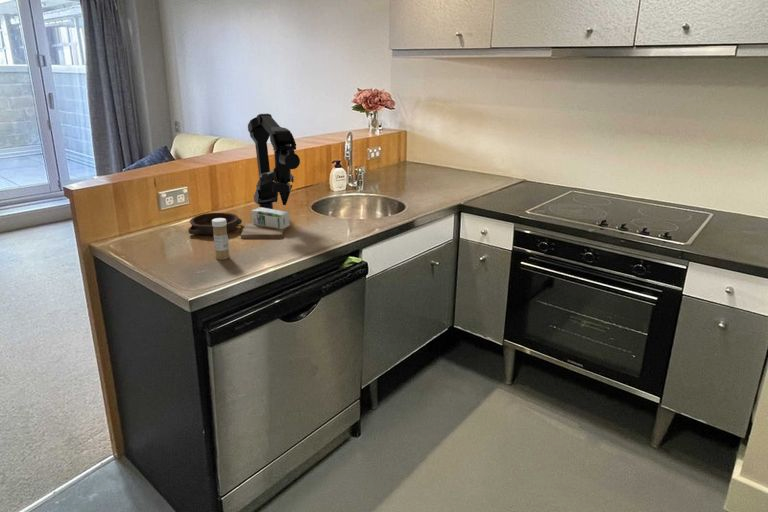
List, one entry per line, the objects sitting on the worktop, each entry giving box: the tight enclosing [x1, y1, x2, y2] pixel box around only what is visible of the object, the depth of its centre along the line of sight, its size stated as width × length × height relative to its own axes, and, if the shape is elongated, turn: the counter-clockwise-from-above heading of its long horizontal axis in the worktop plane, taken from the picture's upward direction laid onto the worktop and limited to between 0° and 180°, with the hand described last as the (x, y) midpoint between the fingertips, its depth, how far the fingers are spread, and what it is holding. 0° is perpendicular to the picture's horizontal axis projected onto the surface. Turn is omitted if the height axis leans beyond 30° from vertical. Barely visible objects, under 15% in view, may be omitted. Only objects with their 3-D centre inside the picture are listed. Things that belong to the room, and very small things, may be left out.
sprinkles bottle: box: [212, 218, 230, 261], centre depth 174 cm, size 5×5×13 cm
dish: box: [187, 212, 243, 236], centre depth 203 cm, size 18×22×5 cm
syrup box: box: [250, 206, 291, 229], centre depth 206 cm, size 6×6×14 cm
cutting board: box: [240, 221, 286, 239], centre depth 203 cm, size 16×15×2 cm
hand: (284, 204), depth 201 cm, fingers closed
